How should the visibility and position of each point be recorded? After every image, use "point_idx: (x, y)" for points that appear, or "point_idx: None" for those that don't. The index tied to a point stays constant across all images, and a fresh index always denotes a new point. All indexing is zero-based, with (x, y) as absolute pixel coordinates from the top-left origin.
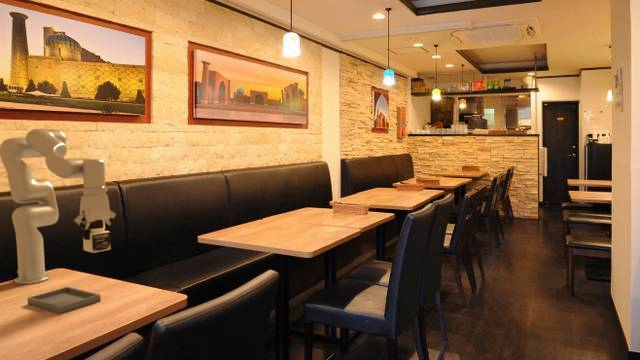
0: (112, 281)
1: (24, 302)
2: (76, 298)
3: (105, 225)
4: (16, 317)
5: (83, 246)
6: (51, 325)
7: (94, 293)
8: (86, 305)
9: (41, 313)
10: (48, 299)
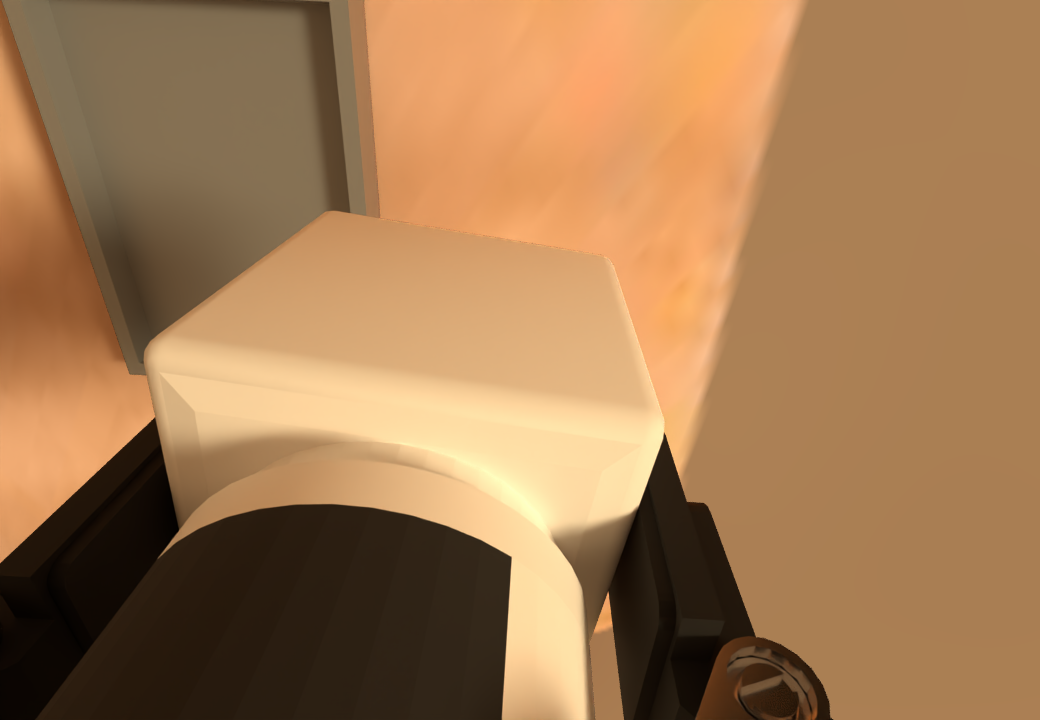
0: (750, 50)
1: None
2: None
3: (658, 700)
4: None
5: (300, 231)
6: (83, 441)
7: None
8: None
9: (79, 254)
10: (162, 66)
